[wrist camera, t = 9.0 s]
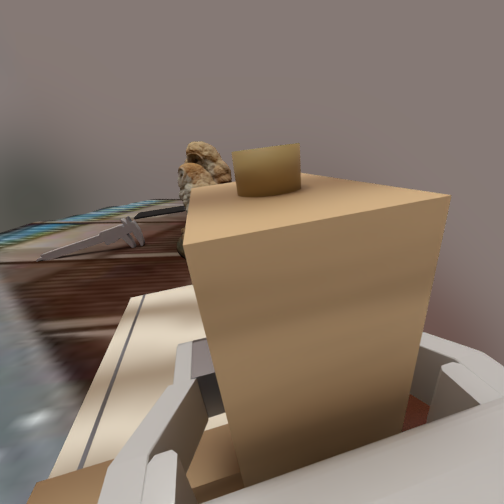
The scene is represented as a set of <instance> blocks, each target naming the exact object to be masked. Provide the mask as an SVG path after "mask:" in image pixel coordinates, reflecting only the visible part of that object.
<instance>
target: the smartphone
mask: <svg viewBox="0 0 504 504" xmlns="http://www.w3.org/2000/svg"><path fill="white" fill-rule="evenodd" d="M185 210H186V209H185V206H179V207H172V208H166V209H159V210H153V211H147V212H140V213H138V214H137V215H136V216H135V217H134V219H139V218H145V217H152V216H158V215H164V214H171V213H177V212H183V211H185Z"/></svg>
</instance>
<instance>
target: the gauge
mask: <svg viewBox="0 0 504 504" xmlns="http://www.w3.org/2000/svg"><path fill="white" fill-rule="evenodd" d="M232 158H233V166H234V173H235V180H236V182H230V183H224V184H217V185H211V186H204V187H197V188H191V195H190V201H189V208H188V214H187V221H186V227H185V234H184V240H183V248H184V252H185V256H186V260H187V264H188V268H189V272H190V276H191V280H192V284H193V287H194V291H195V295H196V299H197V303H198V307H199V311H200V315H201V319H202V323H203V327H204V331H205V335H206V338H207V342H208V346H209V350H210V354H211V358H212V362H213V366H214V370H215V374H216V378H217V382H218V385H219V389H220V393H221V397H222V401H223V405H224V409H225V413H226V417H227V421H228V424H225V425H222V426H219V427H215V428H212V429H209V430H206V431H204V432H203V435H202V437H201V440H200V442H199V445H198V447H197V449H196V452H195V454H194V457H193V459H192V461H191V464H190V466H189V469H188V471H187V473H186V476H187V478H188V481H189V483H190V486H191V488H192V490H193V493H194V495H195V498H196V500H197V502H198V504H201V503H204V502H207V501H209V500H212V499H215V498H218V497H221V496H223V495H226V494H229V493H232V492H235V491H238V490H240V489H243V488H246V487H249V486H252V485H255V484H257V483H260V482H263V481H266V480H269V479H272V478H274V477H277V476H280V475H283V474H286V473H288V472H291V471H294V470H297V469H300V468H303V467H305V466H308V465H311V464H314V463H317V462H320V461H322V460H325V459H328V458H331V457H334V456H336V455H339V454H342V453H345V452H348V451H351V450H353V449H356V448H359V447H362V446H365V445H368V444H370V443H373V442H376V441H379V440H382V439H385V438H387V437H390V436H393V435H396V434H399V433H401V431H402V427H403V422H404V417H405V413H406V408H407V403H408V398H409V394H410V389H411V384H412V380H413V375H414V370H415V365H416V361H417V356H418V351H419V346H420V342H421V337H422V332H423V327H424V323H425V317H426V313H427V309H428V304H429V299H430V294H431V289H432V285H433V280H434V276H435V271H436V266H437V261H438V257H439V252H440V247H441V242H442V238H443V233H444V228H445V224H446V219H447V214H448V209H449V205H450V200H451V195H446V194H439V193H433V192H425V191H419V190H412V189H405V188H399V187H392V186H385V185H378V184H371V183H365V182H358V181H352V180H344V179H338V178H331V177H324V176H318V175H311V174H304V173H301V172H300V171H301V170H300V144H299V143H296V144H288V145H280V146H272V147H265V148H258V149H250V150H242V151H235V152H232ZM113 460H114V459H112V460H108V461H105V462H102V463H99V464H95V465H92V466H89V467H86V468H82V469H79V470H76V471H73V472H69V473H66V474H63V475H60V476H56V477H53V478H50V479H47V480H44V481H40V482H37V483H36V485H35V487H34V489H33V491H32V493H31V495H30V497H29V499H28V501H27V503H26V504H98V500H99V497H100V493H101V490H102V486H103V483H104V479H105V476H106V472H107V469H108V467H109V465H110V464H111V463H112V461H113Z"/></svg>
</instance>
